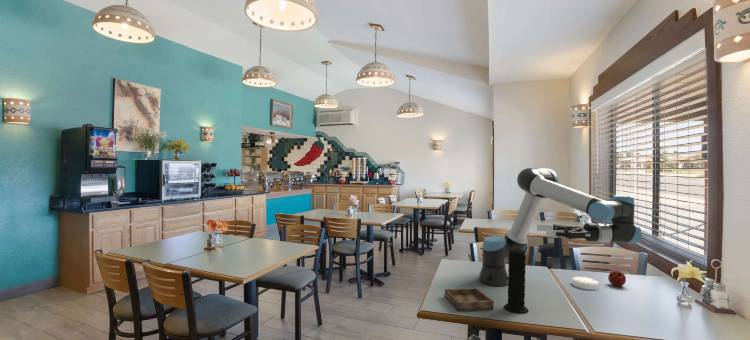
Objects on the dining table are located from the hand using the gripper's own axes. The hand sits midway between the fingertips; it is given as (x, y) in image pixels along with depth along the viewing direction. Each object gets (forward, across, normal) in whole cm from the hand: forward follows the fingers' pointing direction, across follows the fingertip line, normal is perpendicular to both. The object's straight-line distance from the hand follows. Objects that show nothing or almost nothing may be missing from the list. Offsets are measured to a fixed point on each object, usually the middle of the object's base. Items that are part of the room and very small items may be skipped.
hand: (541, 230), depth 147 cm
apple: (-49, -43, +35) cm, 74 cm away
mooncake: (-32, -39, +35) cm, 62 cm away
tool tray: (+30, -2, +35) cm, 46 cm away
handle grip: (+10, 0, +35) cm, 36 cm away
